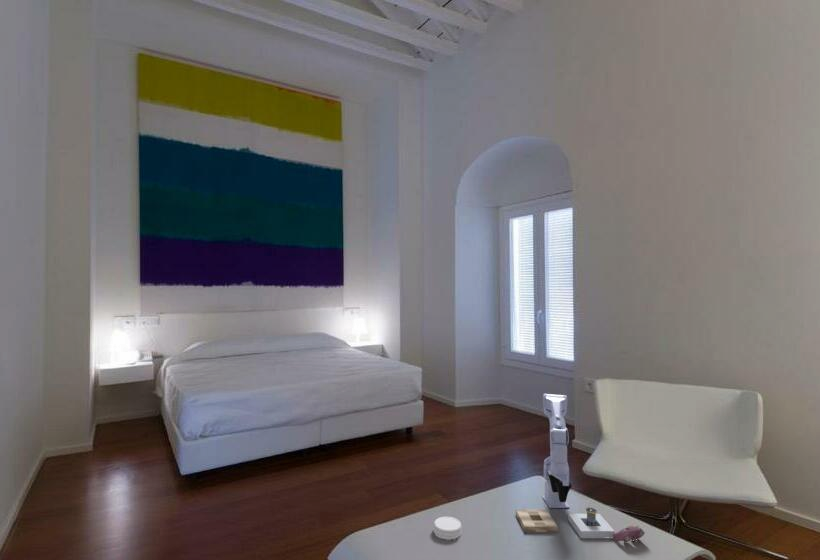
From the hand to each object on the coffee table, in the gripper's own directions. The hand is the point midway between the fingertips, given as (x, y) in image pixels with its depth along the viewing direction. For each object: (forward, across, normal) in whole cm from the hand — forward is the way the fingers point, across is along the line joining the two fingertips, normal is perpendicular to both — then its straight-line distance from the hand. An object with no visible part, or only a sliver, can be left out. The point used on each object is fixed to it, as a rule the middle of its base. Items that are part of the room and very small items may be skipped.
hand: (558, 496), depth 166 cm
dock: (+9, +5, +10) cm, 15 cm away
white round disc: (+10, +7, -43) cm, 45 cm away
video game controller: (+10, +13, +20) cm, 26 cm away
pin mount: (+9, +1, -9) cm, 13 cm away
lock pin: (+9, +5, +10) cm, 15 cm away
